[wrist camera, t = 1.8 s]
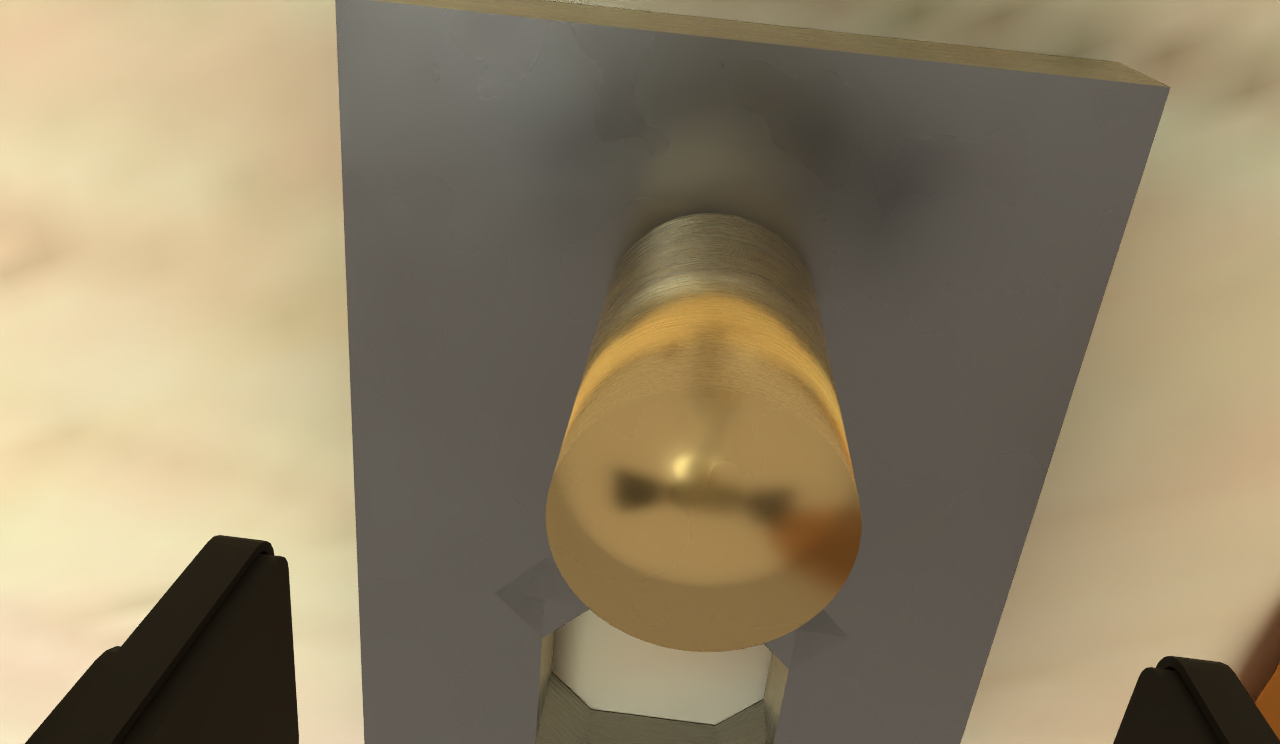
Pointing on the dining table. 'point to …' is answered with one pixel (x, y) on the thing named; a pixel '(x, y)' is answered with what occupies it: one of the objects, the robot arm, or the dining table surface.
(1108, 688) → the dining table surface
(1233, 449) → the dining table surface
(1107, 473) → the dining table surface
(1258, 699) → the coffee package
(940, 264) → the jig
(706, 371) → the brass cylinder peg
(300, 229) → the dining table surface
